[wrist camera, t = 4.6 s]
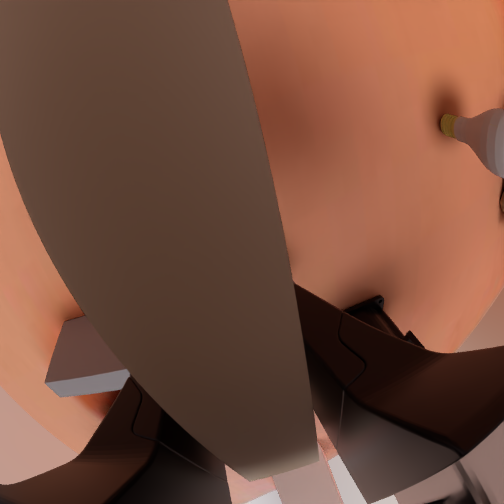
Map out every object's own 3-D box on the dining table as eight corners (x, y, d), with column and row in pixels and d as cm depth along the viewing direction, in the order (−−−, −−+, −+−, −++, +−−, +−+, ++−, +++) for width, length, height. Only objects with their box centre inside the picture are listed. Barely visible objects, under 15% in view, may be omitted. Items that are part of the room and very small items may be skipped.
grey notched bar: (278, 255, 22) (313, 314, 16) (282, 275, 23) (315, 335, 17) (64, 321, 21) (44, 382, 15) (75, 336, 22) (60, 397, 16)
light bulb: (421, 148, 20) (513, 188, 12) (425, 90, 17) (523, 110, 9) (455, 154, 21) (534, 190, 13) (459, 102, 18) (543, 126, 10)
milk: (265, 458, 47) (298, 558, 25) (316, 439, 47) (358, 539, 25) (279, 466, 54) (308, 550, 32) (323, 450, 54) (358, 533, 32)
